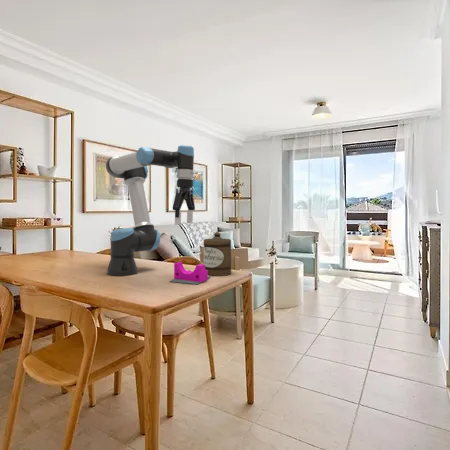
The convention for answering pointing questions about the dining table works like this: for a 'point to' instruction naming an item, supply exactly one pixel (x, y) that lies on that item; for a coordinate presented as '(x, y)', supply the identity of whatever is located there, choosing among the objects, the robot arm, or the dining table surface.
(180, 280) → the mat
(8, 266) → the dining table surface
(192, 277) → the toy block
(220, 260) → the wooden container
